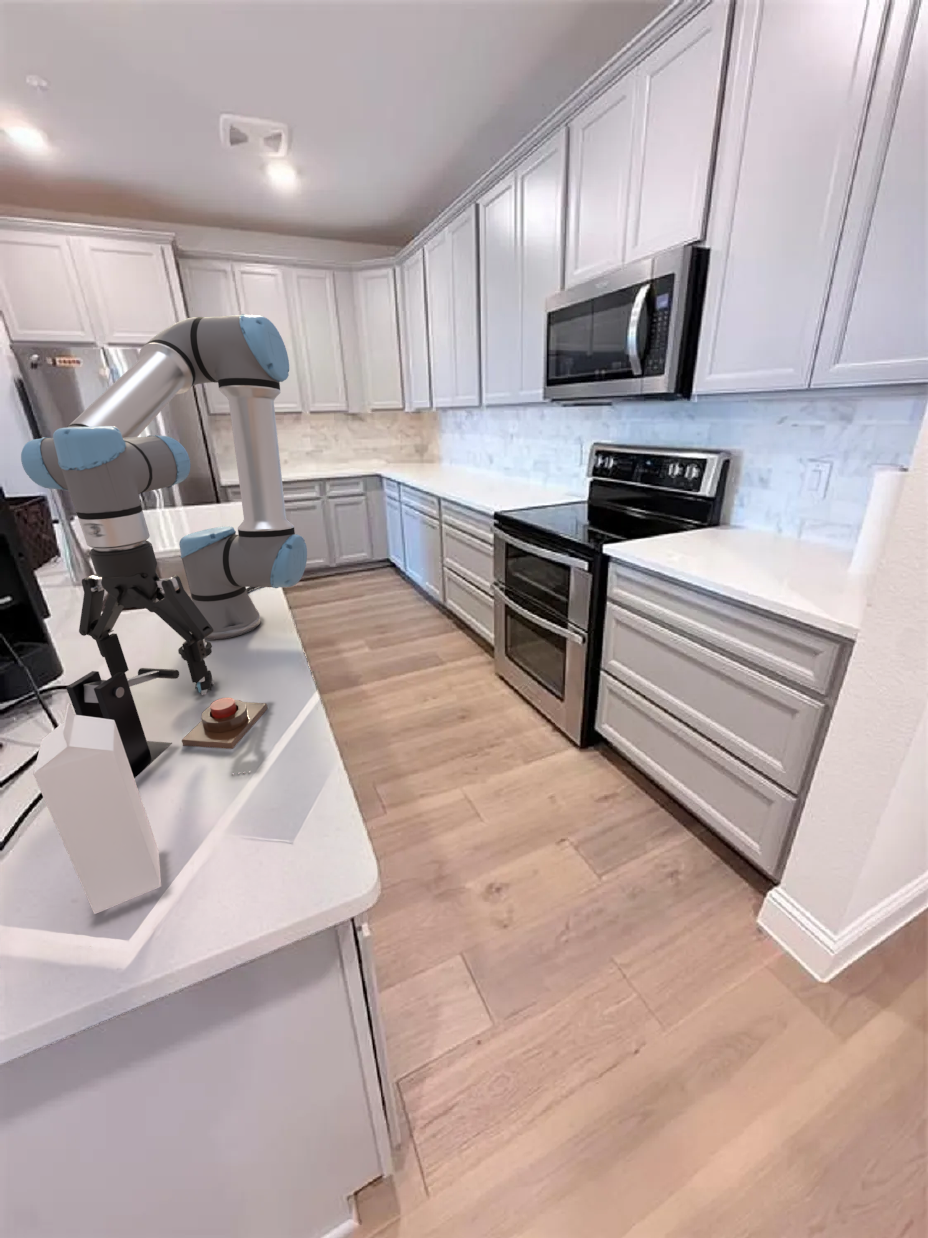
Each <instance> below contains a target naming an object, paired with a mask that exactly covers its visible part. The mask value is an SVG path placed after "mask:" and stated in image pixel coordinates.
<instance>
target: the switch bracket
mask: <svg viewBox="0 0 928 1238" xmlns="http://www.w3.org/2000/svg"><path fill="white" fill-rule="evenodd" d="M127 678H128V677H127V674H126V672H125V673H121V672H119V673H117V674H115V675H114V676H112V677H111V676H110V677H109V678H107V679H105V680H106V681H105V682H103V683H102V684H100V685H98V686H97V687H95V688H94V691H95V694H96V697H97V700H98V703H90V702H85V700H84V686H83V685H84V684H88V683H91V682H95V681H99V680H102V678H101V674H100V671H97V670H91V671H90V672H89V673H87V674H85V675H84V676H82V677H80V678H79V679H77V680H75V681H74V682H72V683H70V684H68V685H67V686H66V687H65V689H66V692H67V695H68V697H69V700H70V702H71V706H72V707H73V708H72V709H73V711H74V714H75V715H81V716H89V717H96V718H104V719H111V720H114V721H115V723H116V726H117V729H118V732H119V735H120V738H121V741H122V744H123V747H124V750H125V753H126V756H127V759H128V761H129V764H130V767H131V770H132V773H133V776H134V779H136V778H137V777H139V775H141V774H142V773H143V772H144V771H145V770H146V769H147V768H148V767H149V766H150V765H151V764H152V763H153V762H154V761H155V760H156V759H157V758H158V757H159V756H161V754H163V753H164V752H165V751H166V750H167V749H168V748H169V747H170V746H171V745H173V742H167V741H151V740H147V738H146V734H145V731H144V729H143V724H142V721H141V718H140V716H139V713H138V710H137V706H136V703H135V700H134V697H133V694H132V691H131V688H130V687H131V686H130V687H129V684H128V681H127Z"/></svg>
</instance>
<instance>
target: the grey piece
mask: <svg viewBox="0 0 928 1238" xmlns="http://www.w3.org/2000/svg"><path fill="white" fill-rule="evenodd" d="M185 642H186V640H184V641H183V643H182V644H184V643H185ZM203 643H204V647H205V651H206V657H205V658H204V662H205V663H206V661H205V659H207V658H208V656H211V654H212V652H213V651H212V647H213V644H212V642H210V641H209V640H206V639H203ZM177 652H178V654H179V655H180V658H182V660H183V661H186V662H187V660H186V657H185V653H184V649H183V646H182V645H181V646H180V647H179V648H178V649H177ZM205 666H206V670H207V675H206V676H204V677H203V678H202V679H201V680H200V681H199V682H197V683H194V689H195V690H196V689H197V690H198V691H197V692H198V694H200V693H201V694H200V695H201V696H205V695H207V692H209V691H213V689H212V685H214V684H215V683H214V680H213V674H212V671H211V670H208V666H207V665H206V664H205Z"/></svg>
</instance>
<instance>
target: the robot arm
mask: <svg viewBox="0 0 928 1238" xmlns="http://www.w3.org/2000/svg"><path fill="white" fill-rule="evenodd" d="M289 372H290V360H289V356H288V351H287V348H286V345H285V342H284V340H283V338H282V335H281V333H280V332H279V330H278V329H277V327H276V326H275V324H274V323H273V322H272V321H271V320H270V319H269V318H267V317H265V316H263V315H255V314H254V315H253V314H251V315H250V314H244V313H241V314H236V315H235V314H234V315H219V316H194V317H193V316H192V317H188V318H184V319H182V320H180V321H178V322H175V323H173V324H171V325H170V326H168V327H167V328H165V329H163V330H161V331H160V332H159V333H157V334H156V335H155V336H153V337H152V338H151V339H150V340H149V341H147V342H146V343H145V344H144V345H143V346H142V347H141V348H140V350H139V353H138V360H137V361H136V362H135V363H134V364H132V366H131V367H130V368H129V369H127V371H125V372H124V373H123V374H122V375H121V376H120V377H119V378H118V379H117V380H116V381H115V382H114V383H113V384H111V385H110V386H109V387H108V388H107V389H106V390H105V391H104V392H103V393H102V394H101V395H100V396H98V397H97V398H96V399H95V400H94V401H93V402H92V403H91V404H90V405H89V406H88V407H86V409H84V410H83V411H82V412H81V413H80V414H79V416H77V417H76V418H75V419H74V420H72V421H71V422H70V424H69V425H67V426H66V427H60V428H57V429H56V430H55V431H54V432H53V434H52V437H48V436H44V437H41V438H35V439H31V440H29V441H28V442H26V443H25V444H24V446H23V447H22V449H21V453H20V461H21V465H22V468H23V471H24V472H25V474H26V475H27V477H28V478H29V479H30V480H31V481H32V482H33V483H35V484H36V485H38V486H39V487H41V488H44V489H49V490H50V489H51V490H62V491H67V492H69V495H70V498H71V501H72V504H73V507H74V510H75V512H76V515H77V519H78V522H79V525H80V528H81V531H82V534H83V538H84V540H85V543H86V546H88V547H89V548H91V549H90V551H89V557H90V559H91V563H92V565H93V569H94V572H95V573H94V574H91V575H89V576H87V577H84V578H82V579H81V586H82V590H83V599H82V607H81V612H80V613H81V614H80V619H79V620H80V621H79V628H78V633H79V634H80V635H81V636H83V637H85V636H89V637H91V638H92V640H95V642H96V645H97V648H98V651H99V654H100V656H101V657H102V658H104V660H105V663H106V667H107V669H108V671H109V674H110V678H111V677H112V676H114V675H115V674H117V673H119V672H121V673H125V674H126V673H127V672H128V671H129V667H128V664H127V660H126V657H125V654H124V652H123V648H122V646H121V642H120V640H119V639H120V638H119V636H118V633H113V632H114V627H115V625H116V623H117V621H118V619H119V617H120V615H121V614H122V612H123V610H124V609H131V608H135V609H142V610H143V609H146V610H147V611H148V612H149V613H154V614H156V615H157V616H158V617H159V618H160V619H161V620H162V621H163V622H164V623H166V624H167V626H169V627H170V628H171V629H172V630H173V631H174V632H175V633H176V634H178V635H179V636H180V637H181V638H182V639H183V640H184V642H185V641H186V642H185V643H184V642H183V643H184V644H183V643H182V645H181V646H183V649H184V653H185V657H186V660H187V661H186V660H185V661H186V663H187V667H188V670H189V674H190V678H191V682H192V683H194V684H196V683H197V682H199V681H200V680H201V679H202V678H203V677H204V676H206V675H207V670H208V669H207V670H206V666H207V665H206V661H205V659H206V658H205V657H206V651H205V647H204V643H203V639H204V640H205V641H209V640H213V641H214V640H224V639H225V640H226V639H230V638H234V637H238V636H242V635H244V634H247V633H250V632H251V631H254V630H255V629H256V628H257V627H258V626H259V625H260V624H261V616H260V613H259V610H258V609H257V607H256V606H255V604H254V601H253V600H252V599H251V597H250V595H249V592H250V591H252V590H255V589H257V588H272V589H279V588H291V587H294V586H296V585H297V584H298V583H299V582H300V581H301V579H303V577H304V576H303V575H304V573H305V572H306V571H305V570H306V567H307V562H308V547H307V543H306V541H305V539H304V537H303V536H302V535H301V534H298V533H296V531H295V525H294V524H293V523H292V522H291V521H289V520H288V518H287V513H286V505H285V497H284V496H285V495H284V487H283V486H284V485H283V477H282V468H281V467H282V465H281V458H280V448H279V438H278V431H277V430H278V428H277V418H276V411H275V400H276V399H277V398H278V396H279V395H280V394H281V384H280V383H283V382H284V381H286V380H288V378H289V376H290V375H289ZM210 383H214V384H215V383H217V385H218V391H219V392H220V393H222V394H223V396H225V397H226V398H227V400H228V405H229V406H228V407H229V413H230V422H231V430H232V436H233V444H234V446H233V447H234V453H235V460H236V461H235V462H236V467H237V476H238V483H239V484H238V485H239V490H240V499H241V506H242V515H243V520H242V522H241V523H240V524H239V526H237V531H236V530H235V528H234V527H233V526H230V525H229V526H227V525H225V526H218V527H212V528H211V527H210V528H207V529H201V530H198V531H194V532H191V533H188V534H186V535H184V536H183V537H181V538H180V540H179V543H178V544H179V551H180V559H181V561H182V565H183V569H184V573H185V577H186V581H187V585H188V589H189V593H190V596H189V594H188V592H187V591H186V590H185V588H184V585H183V583H182V580H181V578H180V576H178V575H177V574H173V575H172V576H169V577H165V578H164V577H163V578H160V576H159V575H158V573H157V566H158V561H157V558H156V554H155V551H154V546H153V543H152V542H150V541H149V540H148V539H149V538H150V537H151V534H150V532H149V528H148V524H147V521H146V518H145V514H144V510H143V508H142V504H141V500H140V497H139V495H141V494H143V493H147V492H151V491H155V490H160V489H165V488H172V487H174V486H175V485H178V484H180V483H183V482H185V480H186V479H187V478H188V476H189V474H190V472H191V459H190V456H189V453H188V451H187V450H186V448H185V447H184V446H183V445H182V443H180V441H178V440H176V439H175V438H173V437H171V436H167V435H157V434H154V435H151V434H150V435H147V436H140V435H141V434H142V433H143V432H144V431H145V429H146V428H147V427H148V426H149V425H150V424H151V423H152V421H154V419H156V418H157V416H158V415H159V414H160V413H161V412H162V411H163V410H164V408H165V407H166V406H167V405H168V404H169V403H170V402H171V400H173V398H175V396H176V395H181V394H184V393H187V392H188V391H189V390H190V389H191V388H192V387H194V386H196V385H201V384H210ZM236 533H237V534H236ZM105 592H107V593H108V594H109V595H108V597H107V599H106V600H105V602H104V597H105ZM156 600H157V601H156ZM103 603H104V604H103ZM103 605H104V608H103ZM102 610H103V611H102ZM204 658H205V659H204ZM204 661H205V662H204ZM205 665H206V666H205Z"/></svg>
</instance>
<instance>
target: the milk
mask: <svg viewBox="0 0 928 1238" xmlns="http://www.w3.org/2000/svg"><path fill="white" fill-rule="evenodd" d="M72 707H73V706H72V704H71V703H70V702H67V705H66V710H65V715H64V718H63V719H64V720H63V722H62V723H60V724H59V725H58V726H57V727H55V728H54V729H53V730H52V731H50V732H49V733H48V734H47V735H45V736H44V737H42V739H41V742H40V746H39V749H38V753H37V757H36V760H35V765H34V769H33V773H32V775H33V777H34V779H35V782H36V784H37V786H38V788H39V791H40V793H41V796H42V798H43V800H44V802H45V805H46V807H47V809H48V811H49V814H50V816H51V818H52V821H53V823H54V825H55V828H56V829H57V832H58V835H59V837H60V839H61V841H62V844H63V846H64V848H65V850H66V852H67V855H68V858H69V861H70V862H71V865H72V866H73V869H74V871H75V873H76V876H77V878H78V880H79V882H80V884H81V887H82V890H83V891H84V894H85V896H86V899H87V901H88V903H89V905H90V908H91V910H92V912H93V915H96V914H98V913H101V912H104V911H106V910H108V909H111V908H113V907H115V906H118V905H121V904H123V903H125V902H127V901H130V900H132V899H135V898H137V897H140V896H142V895H145V894H147V893H150V892H152V891H154V890H156V889H159V888H161V887H162V878H161V866H160V865H161V863H160V852H159V851H160V850H159V846H158V844H157V841H156V838H155V835H154V833H153V829H152V827H151V823H150V820H149V818H148V815H147V812H146V809H145V806H144V803H143V801H142V797H141V794H140V791H139V789H138V786H137V785H138V784H137V783H136V780H135V779H136V778H135V779H134V776H133V773H132V770H131V767H130V764H129V761H128V759H127V756H126V753H125V750H124V747H123V744H122V741H121V738H120V735H119V732H118V729H117V726H116V723H115V721H114V720H111V719H104V718H96V717H89V716H81V715H76V713H75V711H74V709H73V708H72Z"/></svg>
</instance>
